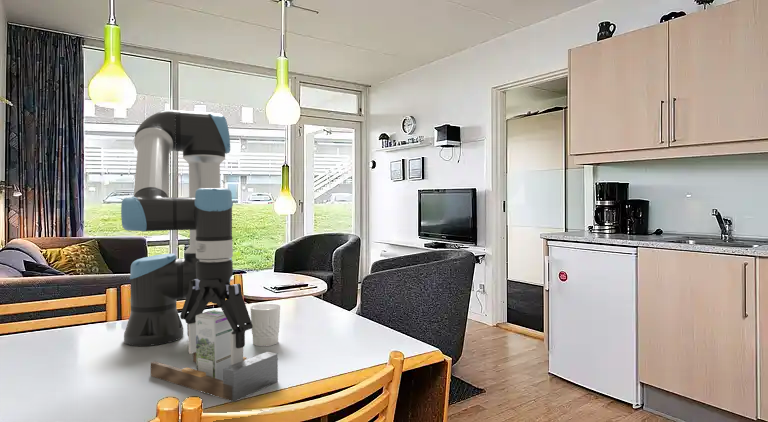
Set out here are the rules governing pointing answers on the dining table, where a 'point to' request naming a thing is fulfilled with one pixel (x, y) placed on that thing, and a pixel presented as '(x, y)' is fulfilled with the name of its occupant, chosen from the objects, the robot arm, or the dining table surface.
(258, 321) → the white cup
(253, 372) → the connector block
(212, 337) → the syrup box
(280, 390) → the dining table surface
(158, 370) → the brown parallel rails
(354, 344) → the dining table surface
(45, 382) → the dining table surface
